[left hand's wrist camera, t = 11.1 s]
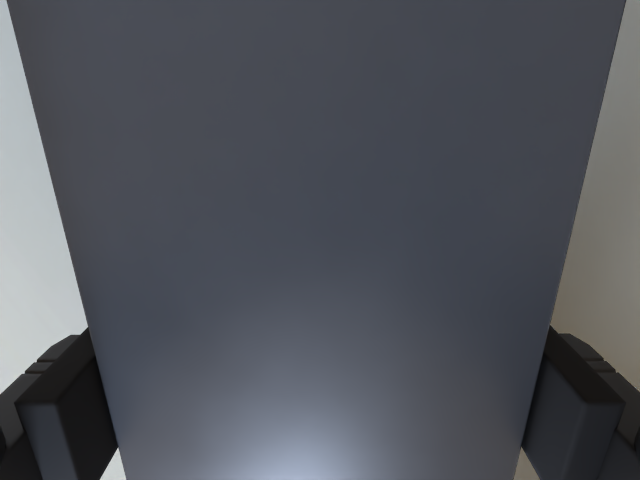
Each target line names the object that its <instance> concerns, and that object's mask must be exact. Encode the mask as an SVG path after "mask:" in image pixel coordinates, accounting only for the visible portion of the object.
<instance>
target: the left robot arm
mask: <svg viewBox="0 0 640 480" xmlns="http://www.w3.org/2000/svg"><path fill="white" fill-rule="evenodd" d="M521 446H522V448H523V450H524V452H525V453H526V455H527V457H528V459H529V461H530V462H531V464H532V466H533V468H534V469H535V471H536V473H537V475H538V476H539V478H540V480H640V392H639V391H638V390H636V389H635V388H634V387H633V386H632V385H631V384H630V383H629V382H628V381H627V380H626V379H625V378H624V377H623V376H622V375H621V374H619V373H616V371H615V369H614V368H613V367H612V366H611V365H610V364H609V363H608V362H607V361H604V360H603V358H602V357H601V356H600V355H599V354H598V353H597V352H596V351H595V350H594V349H593V348H592V347H591V346H590V345H588V344H587V343H585V342H583V341H581V340H580V339H578V338H576V337H574V336H573V335H571V334H558V333H557V332H556V331H555V330H554V329H553V328H552V327H551V326H549V330H548V334H547V339H546V343H545V347H544V351H543V356H542V360H541V364H540V368H539V373H538V377H537V381H536V385H535V390H534V394H533V398H532V402H531V407H530V411H529V415H528V419H527V424H526V428H525V432H524V436H523V441H522V445H521ZM117 448H118V443H117V439H116V435H115V431H114V427H113V423H112V419H111V415H110V411H109V407H108V403H107V399H106V395H105V391H104V387H103V383H102V379H101V375H100V371H99V367H98V363H97V359H96V355H95V351H94V347H93V343H92V339H91V336H90V332H89V328H87V329H86V330H85V331H84V332H83V333H82V334H81V335H70V336H68V337H66V338H65V339H63V340H61V341H60V342H58V343H56V344H54V345H53V346H51V347H50V348H49V349H48V350H47V351H46V352H45V353H44V354H43V355H42V356H41V357H39V358H38V359H37V362H36V363H33V364H32V365H31V366H30V367H29V368H28V369H27V370H26V371H25V374H22V375H20V376H19V377H18V378H17V379H16V380H15V381H14V382H13V383H12V384H11V385H10V386H9V387H8V388H7V389H6V390H5V391H4V392H2V393H1V394H0V480H100V478H101V476H102V475H103V473H104V471H105V469H106V468H107V466H108V464H109V462H110V461H111V459H112V457H113V455H114V453H115V452H116V450H117Z"/></svg>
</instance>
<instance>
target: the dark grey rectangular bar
mask: <svg viewBox="0 0 640 480" xmlns="http://www.w3.org/2000/svg"><path fill="white" fill-rule="evenodd" d="M625 3H626V0H7V4H8V8H9V12H10V16H11V20H12V24H13V28H14V32H15V36H16V40H17V44H18V48H19V52H20V56H21V60H22V64H23V68H24V72H25V76H26V80H27V84H28V88H29V92H30V96H31V100H32V104H33V108H34V112H35V116H36V120H37V124H38V128H39V132H40V136H41V140H42V144H43V148H44V152H45V156H46V160H47V164H48V168H49V172H50V176H51V180H52V184H53V188H54V192H55V196H56V200H57V204H58V208H59V212H60V216H61V220H62V224H63V228H64V232H65V236H66V240H67V244H68V248H69V252H70V256H71V260H72V264H73V268H74V272H75V276H76V280H77V284H78V288H79V292H80V296H81V300H82V304H83V308H84V312H85V316H86V320H87V324H88V328H89V332H90V336H91V339H92V343H93V347H94V351H95V355H96V359H97V363H98V367H99V371H100V375H101V379H102V383H103V387H104V391H105V395H106V399H107V403H108V407H109V411H110V415H111V419H112V423H113V427H114V431H115V435H116V439H117V443H118V447H119V451H120V455H121V459H122V463H123V467H124V471H125V475H126V479H127V480H513V479H514V475H515V470H516V466H517V462H518V458H519V453H520V449H521V445H522V441H523V436H524V432H525V428H526V424H527V419H528V415H529V411H530V407H531V402H532V398H533V394H534V390H535V385H536V381H537V377H538V373H539V368H540V364H541V360H542V356H543V351H544V347H545V343H546V339H547V334H548V330H549V326H550V322H551V317H552V313H553V309H554V305H555V300H556V296H557V292H558V288H559V283H560V279H561V275H562V271H563V266H564V262H565V258H566V254H567V249H568V245H569V241H570V237H571V232H572V228H573V224H574V220H575V215H576V211H577V207H578V203H579V198H580V194H581V190H582V186H583V181H584V177H585V173H586V169H587V164H588V160H589V156H590V152H591V147H592V143H593V139H594V135H595V130H596V126H597V122H598V118H599V113H600V109H601V105H602V101H603V96H604V92H605V88H606V84H607V79H608V75H609V71H610V67H611V62H612V58H613V54H614V50H615V45H616V41H617V37H618V33H619V28H620V24H621V20H622V16H623V11H624V7H625Z"/></svg>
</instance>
